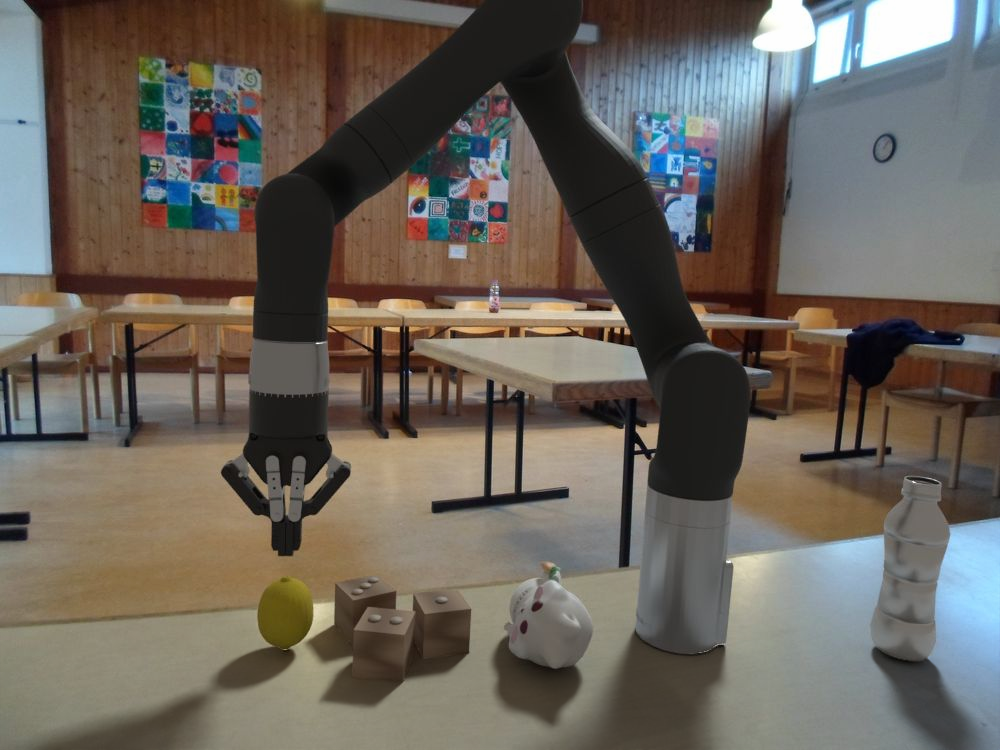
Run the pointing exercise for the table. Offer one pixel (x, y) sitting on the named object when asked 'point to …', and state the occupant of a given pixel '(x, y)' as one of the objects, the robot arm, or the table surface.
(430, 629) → the block one dot
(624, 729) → the table surface
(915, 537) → the plastic bottle
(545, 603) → the cat figurine
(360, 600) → the block three dots
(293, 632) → the lemon
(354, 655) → the block two dots
